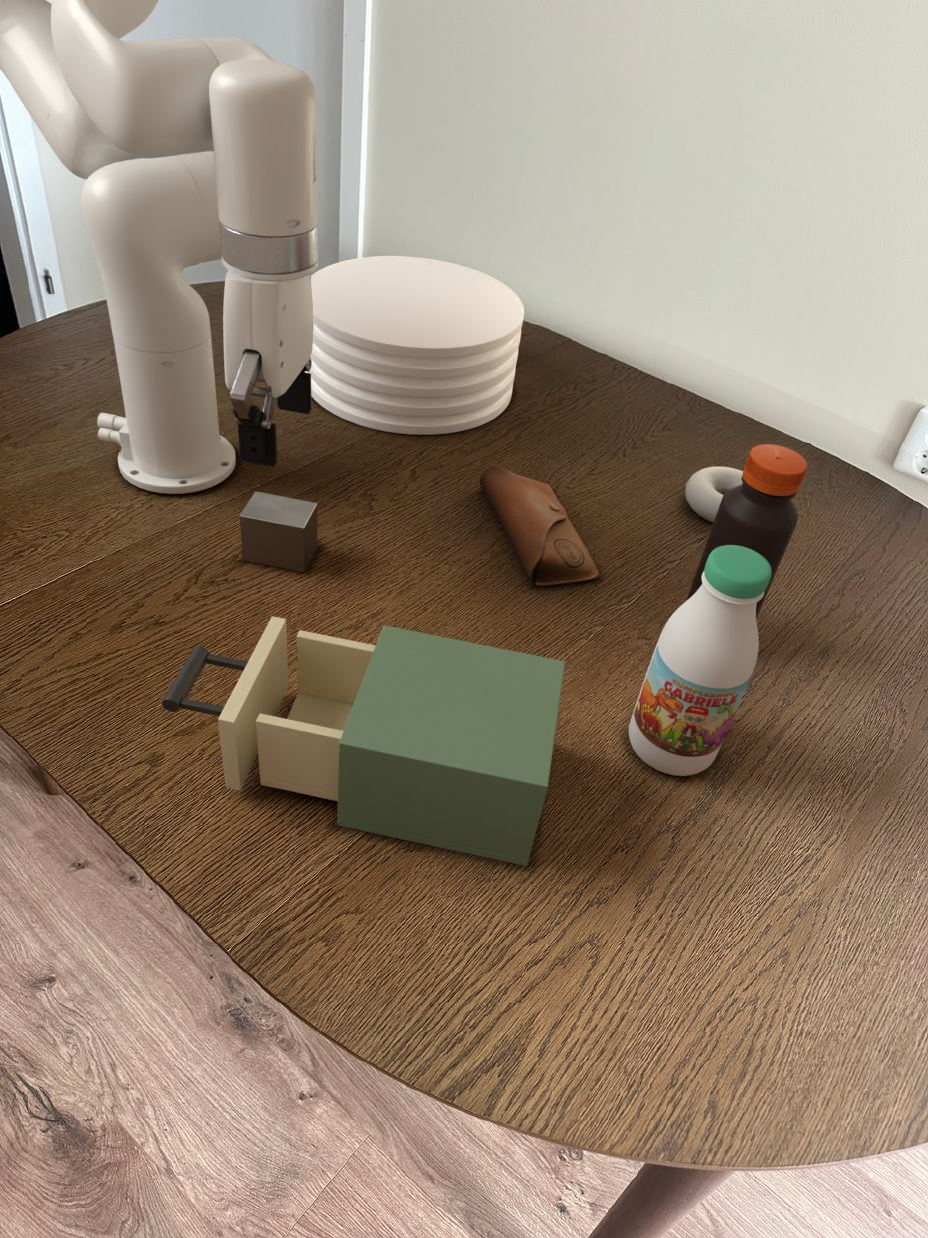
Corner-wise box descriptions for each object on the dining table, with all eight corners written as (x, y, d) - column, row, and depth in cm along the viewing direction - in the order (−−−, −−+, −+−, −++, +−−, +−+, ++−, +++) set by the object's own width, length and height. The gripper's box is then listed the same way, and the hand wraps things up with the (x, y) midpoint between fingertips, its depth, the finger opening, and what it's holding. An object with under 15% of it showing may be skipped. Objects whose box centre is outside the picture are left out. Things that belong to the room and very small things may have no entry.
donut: (762, 543, 103) (769, 497, 110) (772, 519, 101) (779, 473, 108) (675, 519, 105) (688, 475, 112) (683, 495, 102) (695, 451, 110)
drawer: (153, 772, 70) (140, 703, 64) (211, 670, 78) (203, 602, 73) (398, 825, 68) (404, 758, 63) (429, 715, 77) (437, 649, 72)
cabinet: (337, 825, 69) (338, 743, 62) (378, 707, 78) (383, 624, 72) (526, 867, 68) (548, 787, 61) (545, 741, 77) (565, 661, 71)
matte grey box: (242, 560, 91) (239, 515, 87) (257, 535, 94) (255, 491, 91) (304, 572, 91) (303, 528, 87) (317, 547, 94) (317, 502, 90)
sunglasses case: (606, 575, 94) (586, 534, 90) (546, 608, 95) (524, 569, 90) (545, 480, 107) (525, 439, 102) (493, 509, 108) (471, 470, 103)
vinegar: (665, 616, 91) (723, 443, 78) (720, 604, 94) (785, 433, 80) (703, 662, 87) (771, 486, 74) (760, 647, 89) (836, 474, 76)
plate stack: (393, 317, 137) (398, 240, 130) (550, 383, 126) (565, 303, 119) (258, 377, 119) (254, 291, 111) (427, 460, 108) (436, 371, 101)
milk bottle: (618, 710, 81) (676, 528, 68) (701, 710, 82) (774, 531, 69) (637, 779, 75) (705, 595, 62) (726, 779, 76) (811, 598, 63)
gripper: (261, 204, 79) (269, 386, 90) (179, 275, 66) (200, 477, 77) (345, 218, 78) (343, 399, 89) (279, 292, 65) (286, 493, 76)
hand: (277, 435), depth 83 cm, fingers open, 9 cm apart
